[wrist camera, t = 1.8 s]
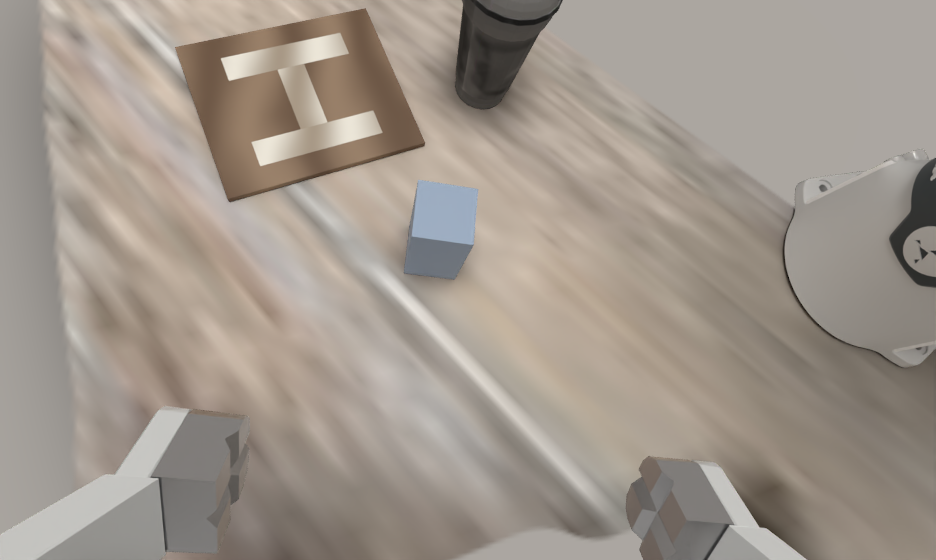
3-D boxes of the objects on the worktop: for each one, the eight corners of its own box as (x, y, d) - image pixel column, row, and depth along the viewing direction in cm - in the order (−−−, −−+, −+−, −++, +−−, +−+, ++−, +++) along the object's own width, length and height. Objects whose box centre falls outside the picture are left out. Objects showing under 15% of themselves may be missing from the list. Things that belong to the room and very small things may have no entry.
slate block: (409, 225, 41) (418, 179, 34) (458, 232, 42) (478, 189, 34) (403, 273, 40) (411, 236, 33) (454, 279, 41) (473, 245, 33)
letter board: (365, 12, 46) (365, 8, 46) (424, 145, 44) (424, 142, 43) (177, 51, 42) (175, 47, 42) (229, 202, 39) (227, 199, 39)
